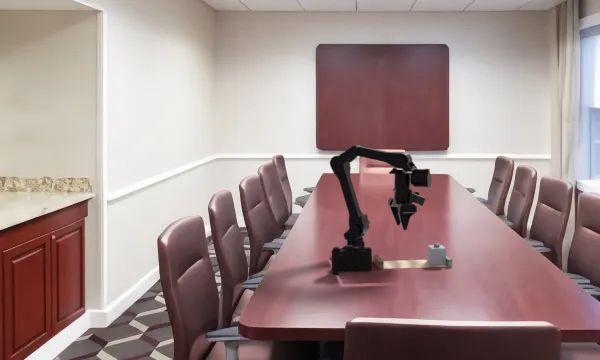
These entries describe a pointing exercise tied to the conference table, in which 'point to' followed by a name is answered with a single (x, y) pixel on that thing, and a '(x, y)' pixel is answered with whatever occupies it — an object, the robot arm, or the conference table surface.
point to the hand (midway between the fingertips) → (401, 227)
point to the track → (407, 263)
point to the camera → (351, 259)
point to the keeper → (436, 254)
